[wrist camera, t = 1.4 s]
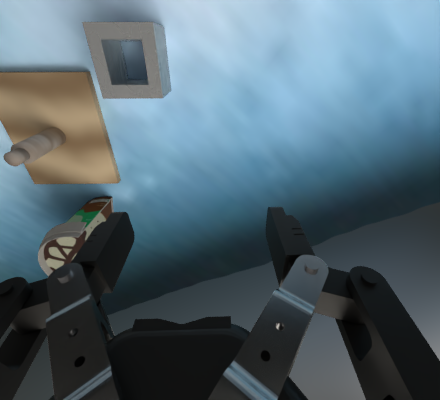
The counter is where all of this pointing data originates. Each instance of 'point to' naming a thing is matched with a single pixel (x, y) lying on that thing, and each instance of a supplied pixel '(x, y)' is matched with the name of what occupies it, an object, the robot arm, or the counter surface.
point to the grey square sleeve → (115, 64)
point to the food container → (72, 234)
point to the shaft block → (56, 128)
